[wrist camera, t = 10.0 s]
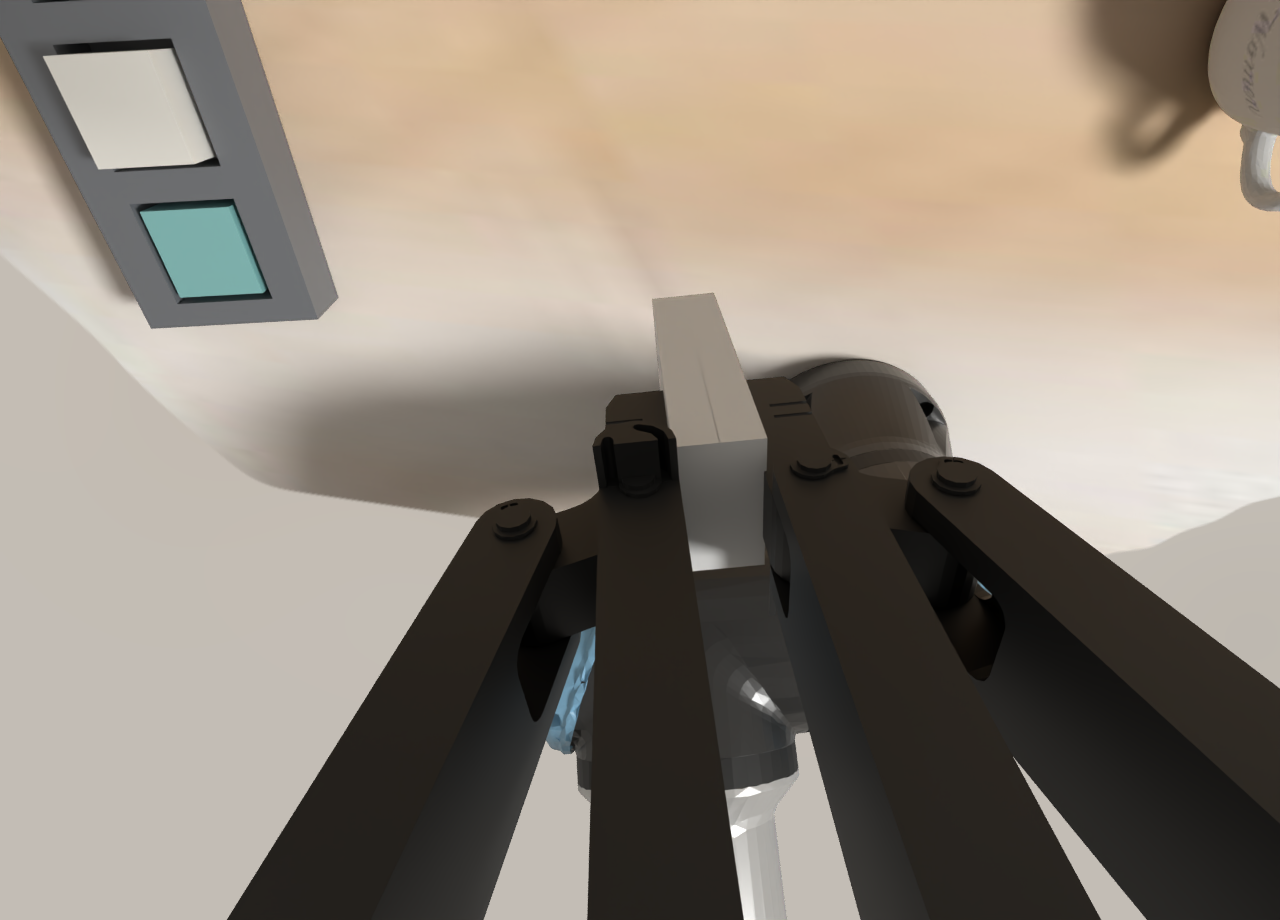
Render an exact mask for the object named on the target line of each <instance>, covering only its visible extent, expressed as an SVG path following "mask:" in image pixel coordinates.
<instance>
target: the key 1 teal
mask: <svg viewBox="0 0 1280 920" xmlns="http://www.w3.org/2000/svg"><path fill="white" fill-rule="evenodd" d="M140 214H141V216H142V218H143V220H144V222H145V224H146V227H147V229H148V231H149V233H150V235H151V237H152V239H153V241H154V243H155V245H156V248H157V250H158V252H159V254H160V256H161V258H162V260H163V262H164V264H165V267H166V269H167V271H168V273H169V275H170V277H171V279H172V281H173V283H174V285H175V288H176V290H177V292H178V294H179V296H180V298H183V297H201V296H219V295H236V294H254V293H263V292H265V291H266V290H267V289H268V286H267V283H266V281H265V278H264V276H263V273H262V270H261V268H260V265H259V263H258V260H257V258H256V255H255V253H254V250H253V247H252V245H251V242H250V240H249V237H248V235H247V232H246V229H245V227H244V224H243V222H242V219H241V217H240V214H239V211H238V209H237V206H236V204H235V201H234V199H217V200H199V201H181V202H163V203H160V204H157V205H155V206H153V207H150V208H148V209H145V210H143V211H141V212H140Z"/></svg>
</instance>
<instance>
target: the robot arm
mask: <svg viewBox="0 0 1280 920" xmlns="http://www.w3.org/2000/svg"><path fill="white" fill-rule="evenodd" d="M652 303H653V315H654V327H655V338H656V350H657V361H658V373H659V385H660V391H652V392H642V393H631V394H621V395H616V396H615V397H614V398H613V400H612V401H611V402H610V404H609V405H608V406H607V407H606V428H605V430H604V431H603V432H602V433H600V434H599V435H598V436H597V437H596V439H595V441H594V444H593V452H594V459H595V465H596V471H597V477H598V483H599V491H598V492H597V493H596V494H595V495H594V496H593V497H592V498H591V499H589V500H588V501H586V502H584V503H583V504H581V505H578V506H576V507H573V508H571V509H568V510H565V511H562V512H558V513H555V511H554V509H553V507H551V506H550V505H548V504H547V503H545V502H544V501H540V500H535V499H530V498H526V499H514V500H510V501H507V502H504V503H501V504H498V505H496V506H495V507H493V508H491V509H489V510H488V511H486V512H485V513H484V514H483V515H482V516H481V517H480V518H479V519H478V520H477V521H476V523H475V524H474V526H473V528H472V529H471V531H470V532H469V534H468V536H467V537H466V539H465V540H464V542H463V544H462V545H461V547H460V548H459V550H458V552H457V553H456V555H455V556H454V558H453V560H452V561H451V563H450V564H449V566H448V568H447V569H446V571H445V572H444V574H443V576H442V577H441V579H440V580H439V582H438V584H437V585H436V587H435V588H434V590H433V591H432V593H431V595H430V596H429V598H428V600H427V601H426V603H425V605H424V606H423V607H422V609H421V611H420V612H419V614H418V615H417V617H416V619H415V620H414V622H413V623H412V625H411V627H410V628H409V630H408V631H407V633H406V635H405V636H404V638H403V639H402V641H401V643H400V644H399V646H398V647H397V649H396V651H395V652H394V654H393V655H392V657H391V658H390V660H389V662H388V663H387V665H386V667H385V668H384V670H383V671H382V673H381V674H380V676H379V678H378V679H377V681H376V682H375V684H374V686H373V687H372V689H371V691H370V692H369V694H368V695H367V697H366V698H365V700H364V702H363V703H362V705H361V706H360V708H359V710H358V711H357V713H356V714H355V716H354V718H353V719H352V721H351V722H350V724H349V726H348V727H347V729H346V731H345V732H344V734H343V735H342V737H341V738H340V740H339V742H338V743H337V745H336V747H335V748H334V750H333V751H332V753H331V754H330V756H329V757H328V759H327V761H326V762H325V764H324V766H323V767H322V769H321V770H320V772H319V774H318V775H317V777H316V778H315V780H314V781H313V783H312V785H311V786H310V788H309V790H308V791H307V793H306V794H305V796H304V798H303V799H302V801H301V802H300V804H299V805H298V807H297V809H296V811H295V812H294V813H293V815H292V817H291V818H290V820H289V821H288V823H287V825H286V826H285V828H284V829H283V831H282V832H281V834H280V836H279V837H278V839H277V840H276V842H275V844H274V845H273V847H272V848H271V850H270V852H269V853H268V855H267V857H266V858H265V860H264V861H263V863H262V864H261V866H260V868H259V869H258V871H257V872H256V874H255V876H254V877H253V879H252V880H251V882H250V884H249V885H248V887H247V888H246V890H245V892H244V893H243V895H242V896H241V898H240V900H239V901H238V903H237V904H236V906H235V908H234V909H233V911H232V912H231V914H230V916H229V917H228V919H227V920H483V919H484V917H485V914H486V911H487V908H488V905H489V902H490V899H491V897H492V893H493V891H494V888H495V885H496V882H497V879H498V876H499V874H500V870H501V868H502V864H503V862H504V859H505V856H506V853H507V850H508V848H509V845H510V842H511V839H512V836H513V833H514V830H515V827H516V825H517V822H518V819H519V816H520V813H521V810H522V807H523V804H524V801H525V799H526V796H527V793H528V790H529V787H530V784H531V781H532V778H533V776H534V773H535V770H536V767H537V764H538V761H539V758H540V755H541V752H542V749H543V747H544V744H545V741H547V742H548V744H549V746H550V747H551V748H552V749H555V750H559V751H561V752H562V753H563V754H572V753H573V752H574V751H575V752H576V755H577V774H578V790H579V792H580V793H581V795H583V796H584V797H585V798H586V799H587V800H588V801H589V802H590V803H591V808H590V809H591V810H590V844H589V845H590V846H589V881H588V917H587V920H787V917H786V909H785V901H784V892H783V884H782V875H781V867H780V859H779V850H778V843H777V834H776V826H775V817H774V812H775V810H776V807H777V805H778V803H779V802H780V801H781V799H782V798H783V797H784V795H785V794H786V793H787V791H788V790H789V789H790V787H791V786H792V785H793V784H794V782H795V781H796V780H797V778H798V776H799V769H798V762H797V753H796V746H795V735H796V734H798V733H804V732H810V735H811V739H812V743H813V746H814V750H815V754H816V757H817V761H818V764H819V768H820V772H821V776H822V779H823V783H824V787H825V790H826V794H827V798H828V801H829V805H830V808H831V812H832V816H833V820H834V823H835V827H836V831H837V834H838V838H839V842H840V845H841V849H842V852H843V856H844V860H845V864H846V867H847V871H848V875H849V878H850V882H851V886H852V889H853V893H854V897H855V900H856V904H857V908H858V911H859V915H860V919H861V920H1101V919H1100V917H1099V915H1098V913H1097V911H1096V910H1095V908H1094V906H1093V904H1092V902H1091V900H1090V899H1089V897H1088V895H1087V893H1086V891H1085V889H1084V887H1083V886H1082V884H1081V882H1080V880H1079V878H1078V876H1077V874H1076V873H1075V871H1074V869H1073V867H1072V865H1071V863H1070V862H1069V860H1068V858H1067V856H1066V854H1065V852H1064V850H1063V849H1062V847H1061V845H1060V843H1059V841H1058V839H1057V837H1056V836H1055V834H1054V832H1053V830H1052V828H1051V826H1050V825H1049V823H1048V821H1047V819H1046V817H1045V815H1044V814H1043V811H1042V810H1041V808H1040V806H1039V804H1038V802H1037V800H1036V799H1035V797H1034V795H1033V793H1032V791H1031V789H1030V787H1029V786H1028V784H1027V782H1026V780H1025V778H1024V776H1023V774H1022V773H1021V771H1020V769H1019V767H1018V765H1017V763H1016V761H1017V762H1018V763H1019V764H1020V765H1021V767H1022V768H1023V769H1024V770H1025V771H1026V773H1027V774H1028V775H1029V776H1030V777H1031V779H1032V780H1033V781H1034V783H1035V784H1036V785H1037V786H1038V787H1039V788H1040V790H1041V791H1042V792H1043V794H1044V795H1045V796H1046V797H1047V798H1048V800H1049V801H1050V802H1051V803H1052V804H1053V806H1054V807H1055V808H1056V809H1057V811H1058V812H1059V813H1060V814H1061V815H1062V817H1063V818H1064V819H1065V820H1066V821H1067V823H1068V824H1069V825H1070V826H1071V828H1072V829H1073V830H1074V831H1075V832H1076V834H1077V835H1078V836H1079V837H1080V839H1081V840H1082V841H1083V842H1084V844H1085V845H1086V846H1087V847H1088V848H1089V849H1090V851H1091V852H1092V853H1093V855H1095V857H1096V858H1097V859H1098V861H1099V862H1100V863H1101V864H1102V866H1103V867H1104V868H1105V869H1106V870H1107V872H1108V873H1109V874H1110V875H1111V877H1112V878H1113V879H1114V880H1115V881H1116V882H1117V884H1118V885H1119V886H1120V887H1121V889H1122V890H1123V891H1124V892H1125V894H1126V895H1127V896H1128V897H1129V898H1130V900H1131V901H1132V902H1133V903H1134V905H1135V906H1136V907H1137V908H1138V909H1139V911H1140V912H1141V913H1142V914H1143V916H1144V917H1145V918H1146V919H1147V920H1280V688H1278V687H1277V686H1276V685H1274V684H1273V683H1272V682H1270V681H1269V680H1268V679H1266V678H1265V677H1264V676H1263V675H1261V674H1260V673H1259V672H1257V671H1256V670H1255V669H1253V668H1252V667H1251V666H1249V665H1248V664H1247V663H1245V662H1244V661H1243V660H1241V659H1240V658H1239V657H1237V656H1236V655H1235V654H1234V653H1232V652H1231V651H1229V650H1228V649H1227V648H1226V647H1224V646H1223V645H1222V644H1220V643H1219V642H1217V641H1216V640H1215V639H1214V638H1212V637H1211V636H1210V635H1208V634H1207V633H1206V632H1204V631H1203V630H1202V629H1201V628H1199V627H1198V626H1197V625H1195V624H1194V623H1192V622H1191V621H1190V620H1189V619H1187V618H1186V617H1185V616H1183V615H1182V614H1181V613H1179V612H1178V611H1177V610H1175V609H1174V608H1173V607H1172V606H1170V605H1169V604H1168V603H1166V602H1165V601H1164V600H1162V599H1161V598H1159V597H1158V596H1157V595H1156V594H1154V593H1153V592H1152V591H1150V590H1149V589H1148V588H1146V587H1145V586H1144V585H1142V584H1141V583H1140V582H1138V581H1137V580H1136V579H1135V578H1133V577H1132V576H1131V575H1129V574H1128V573H1127V572H1125V571H1124V570H1123V569H1121V568H1120V567H1119V566H1117V565H1116V564H1115V563H1113V562H1112V561H1111V560H1110V559H1108V558H1107V557H1106V556H1104V555H1103V554H1102V553H1100V552H1099V551H1098V550H1096V549H1095V548H1094V547H1092V546H1091V545H1090V544H1088V543H1087V542H1086V541H1084V540H1083V539H1082V538H1080V537H1079V536H1078V535H1077V534H1075V533H1074V532H1073V531H1071V530H1070V529H1069V528H1067V527H1066V526H1065V525H1063V524H1062V523H1061V522H1059V521H1058V520H1057V519H1055V518H1054V517H1053V516H1051V515H1050V514H1049V513H1048V512H1046V511H1045V510H1044V509H1042V508H1041V507H1040V506H1038V505H1037V504H1036V503H1034V502H1033V501H1032V500H1030V499H1029V498H1028V497H1026V496H1025V495H1024V494H1022V493H1021V492H1020V491H1018V490H1017V489H1016V488H1015V487H1013V486H1012V485H1011V484H1009V483H1008V482H1007V481H1005V480H1004V479H1003V478H1001V477H1000V476H999V475H997V474H996V473H995V472H993V471H992V470H990V469H988V468H987V467H985V466H983V465H981V464H979V463H977V462H973V461H970V460H967V459H963V458H958V457H953V456H952V450H951V444H950V438H949V432H948V427H947V423H946V421H945V418H944V416H943V413H942V411H941V409H940V408H939V406H938V404H937V403H936V402H935V400H934V399H933V398H932V397H931V395H930V394H929V393H928V392H927V391H926V389H925V388H924V387H923V386H922V385H921V384H920V383H919V382H918V381H917V380H916V379H915V378H914V377H912V376H911V375H910V374H908V373H906V372H905V371H903V370H901V369H899V368H897V367H894V366H891V365H888V364H885V363H881V362H875V361H867V360H849V361H840V362H834V363H830V364H826V365H822V366H819V367H816V368H813V369H811V370H808V371H806V372H804V373H802V374H800V375H798V376H796V377H794V378H792V379H791V380H788V379H786V378H785V377H775V378H765V379H755V380H746V379H745V376H744V373H743V371H742V368H741V365H740V363H739V360H738V357H737V354H736V352H735V349H734V346H733V344H732V341H731V338H730V335H729V333H728V330H727V327H726V325H725V322H724V319H723V316H722V314H721V311H720V308H719V306H718V303H717V300H716V297H715V295H714V293H707V294H697V295H688V296H678V297H668V298H658V299H652ZM1013 757H1014V758H1015V759H1016V761H1015V760H1014V758H1013Z"/></svg>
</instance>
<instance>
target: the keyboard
mask: <svg viewBox="0 0 1280 920" xmlns="http://www.w3.org/2000/svg"><path fill="white" fill-rule="evenodd" d="M0 37H1V39H2V41H3V43H4V45H5V47H6V49H7V51H8V53H9V55H10V56H11V58H12V60H13V62H14V64H15V66H16V68H17V70H18V72H19V74H20V76H21V78H22V80H23V82H24V84H25V85H26V87H27V89H28V91H29V93H30V95H31V97H32V99H33V101H34V103H35V105H36V107H37V109H38V111H39V113H40V114H41V116H42V118H43V120H44V122H45V124H46V126H47V128H48V130H49V132H50V134H51V136H52V138H53V140H54V142H55V144H56V145H57V147H58V149H59V151H60V153H61V155H62V157H63V159H64V161H65V163H66V165H67V167H68V169H69V171H70V173H71V174H72V176H73V178H74V180H75V182H76V184H77V186H78V188H79V190H80V192H81V194H82V196H83V198H84V200H85V202H86V203H87V205H88V207H89V209H90V211H91V213H92V215H93V217H94V219H95V221H96V223H97V225H98V227H99V229H100V231H101V233H102V234H103V236H104V238H105V240H106V242H107V244H108V246H109V248H110V250H111V252H112V254H113V256H114V258H115V260H116V262H117V263H118V265H119V267H120V269H121V271H122V273H123V275H124V277H125V279H126V281H127V283H128V285H129V287H130V289H131V291H132V292H133V294H134V296H135V298H136V300H137V302H138V304H139V306H140V308H141V310H142V312H143V314H144V316H145V318H146V320H147V321H148V323H149V325H150V327H151V329H153V328H171V327H189V326H207V325H225V324H242V323H260V322H278V321H296V320H314V319H319V318H320V317H321V316H322V315H323V313H324V312H325V311H326V310H327V309H328V308H329V307H330V306H331V305H332V304H333V303H334V302H335V301H336V300H337V299H338V295H337V292H336V289H335V286H334V283H333V280H332V277H331V274H330V271H329V268H328V264H327V261H326V258H325V255H324V252H323V249H322V246H321V243H320V240H319V237H318V234H317V231H316V228H315V225H314V222H313V219H312V216H311V213H310V210H309V207H308V203H307V200H306V197H305V194H304V191H303V188H302V185H301V182H300V179H299V176H298V173H297V170H296V167H295V164H294V161H293V158H292V155H291V152H290V149H289V145H288V142H287V139H286V136H285V133H284V130H283V127H282V124H281V121H280V118H279V115H278V112H277V109H276V106H275V103H274V100H273V97H272V94H271V91H270V87H269V84H268V81H267V78H266V75H265V72H264V69H263V66H262V63H261V60H260V57H259V54H258V51H257V48H256V45H255V42H254V39H253V36H252V33H251V30H250V26H249V23H248V20H247V17H246V14H245V11H244V8H243V5H242V2H241V0H0ZM166 48H175V50H176V52H177V55H178V57H179V60H180V62H181V65H182V68H183V70H184V73H185V75H186V78H187V80H188V83H189V86H190V88H191V91H192V93H193V96H194V98H195V101H196V104H197V106H198V109H199V111H200V114H201V116H202V119H203V122H204V124H205V127H206V129H207V132H208V134H209V137H210V140H211V142H212V145H213V147H214V150H215V152H216V155H217V156H215V157H213V158H210V159H207V160H204V161H202V162H199V163H196V164H188V165H170V166H152V167H134V168H116V169H98V167H97V165H96V163H95V161H94V159H93V157H92V155H91V153H90V151H89V149H88V147H87V145H86V143H85V141H84V139H83V137H82V135H81V133H80V131H79V129H78V127H77V125H76V123H75V121H74V119H73V117H72V115H71V113H70V111H69V109H68V107H67V105H66V102H65V100H64V98H63V96H62V94H61V92H60V90H59V88H58V86H57V84H56V82H55V80H54V78H53V76H52V74H51V72H50V70H49V68H48V66H47V64H46V62H45V60H44V58H43V56H51V55H64V54H76V53H93V52H111V51H129V50H148V49H166ZM217 199H234V201H235V204H236V206H237V209H238V211H239V214H240V217H241V219H242V222H243V224H244V227H245V229H246V232H247V235H248V237H249V240H250V242H251V245H252V247H253V250H254V253H255V255H256V258H257V260H258V263H259V265H260V268H261V270H262V273H263V276H264V278H265V281H266V283H267V286H268V289H267V290H266V291H265V292H263V293H254V294H236V295H219V296H201V297H183V298H180V296H179V294H178V292H177V290H176V288H175V285H174V283H173V281H172V279H171V277H170V275H169V273H168V271H167V269H166V267H165V264H164V262H163V260H162V258H161V256H160V254H159V252H158V250H157V248H156V245H155V243H154V241H153V239H152V237H151V235H150V233H149V231H148V229H147V227H146V224H145V222H144V220H143V218H142V216H141V214H140V212H141V211H143V210H145V209H148V208H150V207H153V206H155V205H157V204H160V203H163V202H181V201H199V200H217Z"/></svg>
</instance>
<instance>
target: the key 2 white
mask: <svg viewBox="0 0 1280 920" xmlns="http://www.w3.org/2000/svg"><path fill="white" fill-rule="evenodd" d="M43 58H44V60H45V62H46V64H47V66H48V68H49V70H50V72H51V74H52V76H53V78H54V80H55V82H56V84H57V86H58V88H59V90H60V92H61V94H62V96H63V98H64V100H65V102H66V105H67V107H68V109H69V111H70V113H71V115H72V117H73V119H74V121H75V123H76V125H77V127H78V129H79V131H80V133H81V135H82V137H83V139H84V141H85V143H86V145H87V147H88V149H89V151H90V153H91V155H92V157H93V159H94V161H95V163H96V165H97V167H98V169H116V168H134V167H152V166H170V165H188V164H196V163H199V162H202V161H204V160H207V159H210V158H213V157H215V156H217V155H216V152H215V150H214V147H213V145H212V142H211V140H210V137H209V134H208V132H207V129H206V127H205V124H204V122H203V119H202V116H201V114H200V111H199V109H198V106H197V104H196V101H195V98H194V96H193V93H192V91H191V88H190V86H189V83H188V80H187V78H186V75H185V73H184V70H183V68H182V65H181V62H180V60H179V57H178V55H177V52H176V50H175V48H166V49H148V50H129V51H111V52H93V53H76V54H64V55H51V56H43Z"/></svg>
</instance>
